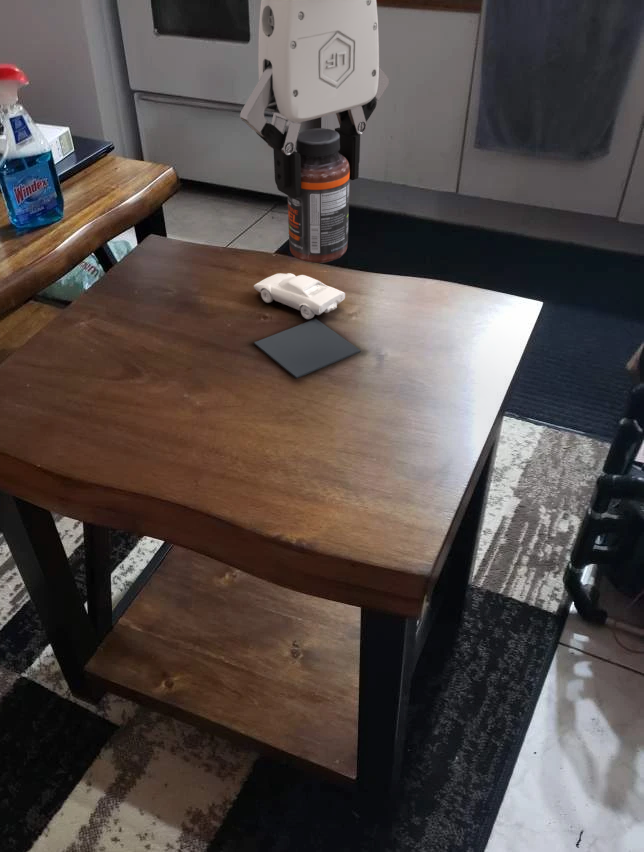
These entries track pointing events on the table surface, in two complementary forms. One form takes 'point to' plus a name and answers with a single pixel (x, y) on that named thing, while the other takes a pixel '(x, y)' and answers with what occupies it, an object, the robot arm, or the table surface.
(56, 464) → the table surface
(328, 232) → the supplement bottle
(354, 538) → the table surface
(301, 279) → the toy car
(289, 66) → the robot arm
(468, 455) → the table surface
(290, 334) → the mat
